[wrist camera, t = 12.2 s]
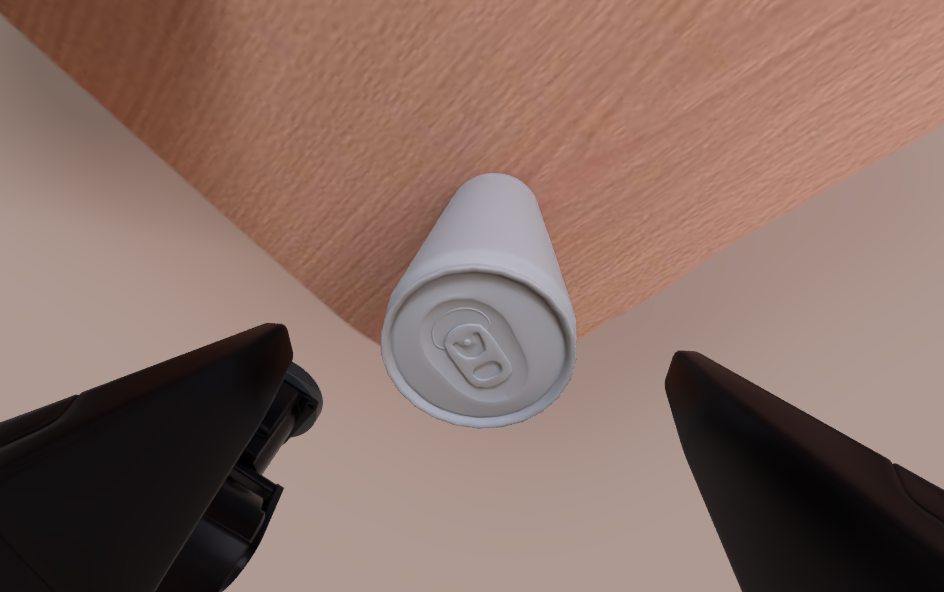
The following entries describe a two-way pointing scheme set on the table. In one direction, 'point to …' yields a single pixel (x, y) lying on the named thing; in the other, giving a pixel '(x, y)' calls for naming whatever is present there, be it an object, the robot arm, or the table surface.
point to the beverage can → (482, 312)
